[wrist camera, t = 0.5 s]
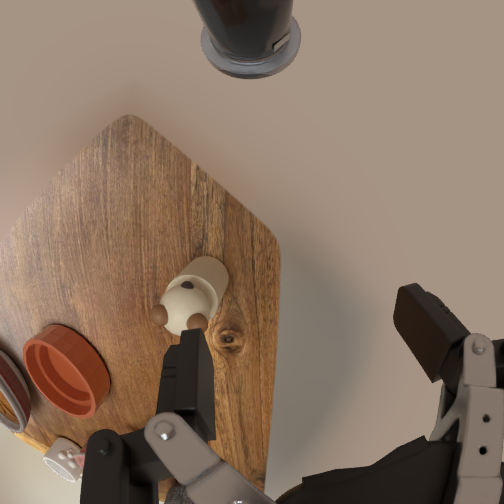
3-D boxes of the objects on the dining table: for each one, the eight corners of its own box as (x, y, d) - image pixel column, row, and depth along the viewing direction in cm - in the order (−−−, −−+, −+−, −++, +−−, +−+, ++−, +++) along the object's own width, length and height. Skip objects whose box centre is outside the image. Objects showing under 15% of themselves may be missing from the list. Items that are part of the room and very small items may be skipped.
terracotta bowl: (36, 311, 37) (14, 326, 31) (106, 340, 37) (86, 361, 31) (51, 379, 41) (35, 396, 35) (116, 409, 40) (102, 430, 35)
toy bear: (188, 251, 33) (146, 286, 21) (232, 259, 32) (210, 301, 21) (183, 293, 34) (145, 342, 22) (225, 301, 34) (203, 357, 22)
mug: (102, 460, 47) (88, 485, 38) (91, 467, 49) (78, 489, 40) (63, 430, 45) (46, 453, 37) (55, 440, 48) (40, 460, 39)
